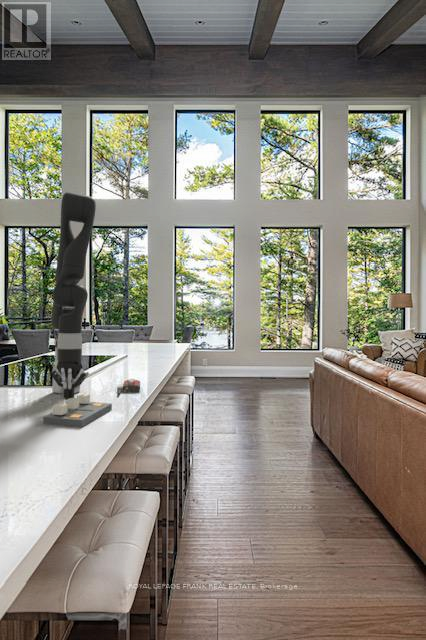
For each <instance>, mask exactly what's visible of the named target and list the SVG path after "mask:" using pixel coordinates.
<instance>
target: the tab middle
mask: <svg viewBox="0 0 426 640" xmlns="http://www.w3.org/2000/svg"><path fill="white" fill-rule="evenodd" d="M64 404H68V409H76V408H78V407H79V399H77V397H76V396H74V398H70V399H67V400H65V402H64Z"/></svg>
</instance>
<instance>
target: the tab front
mask: <svg viewBox="0 0 426 640" xmlns="http://www.w3.org/2000/svg"><path fill="white" fill-rule="evenodd" d="M67 412H68V404H65V402H60V403H59V402H58V403H56V404H54V405H52V412H51V413H52V414H55V415H63V414H65V413H67Z"/></svg>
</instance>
